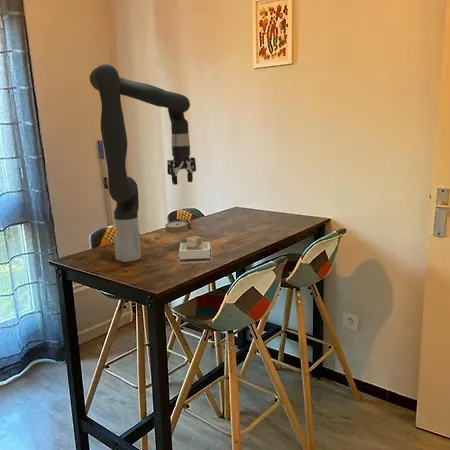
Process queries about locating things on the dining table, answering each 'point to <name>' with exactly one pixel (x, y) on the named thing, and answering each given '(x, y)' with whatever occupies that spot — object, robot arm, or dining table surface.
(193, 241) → the block
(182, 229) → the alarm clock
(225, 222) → the dining table surface
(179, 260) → the track
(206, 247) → the shallow white tray
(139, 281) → the dining table surface
